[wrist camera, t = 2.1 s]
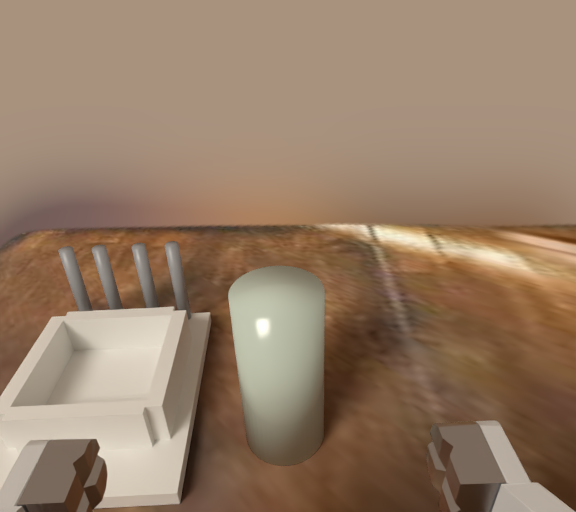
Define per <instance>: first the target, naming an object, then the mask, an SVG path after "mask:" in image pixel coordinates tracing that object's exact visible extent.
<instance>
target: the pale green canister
mask: <svg viewBox="0 0 576 512" xmlns="http://www.w3.org/2000/svg"><path fill="white" fill-rule="evenodd" d="M228 298H229V306H230V314H231V322H232V329H233V337H234V345H235V353H236V361H237V368H238V376H239V384H240V392H241V399H242V407H243V415H244V423H245V430H246V438H247V442H248V445H249V447H250V449H251V450H252V452H253V453H254V454H255V455H256V456H257V457H258V458H260V459H261V460H263V461H265V462H267V463H269V464H273V465H278V466H289V465H295V464H298V463H301V462H303V461H305V460H307V459H308V458H310V457H311V456H312V455H313V454H315V452H316V451H317V450H318V449H319V447H320V445H321V443H322V440H323V436H324V308H325V292H324V286H323V284H322V282H321V281H320V280H319V279H318V278H317V277H316V276H315V275H313V274H312V273H310V272H308V271H306V270H303V269H300V268H296V267H290V266H270V267H264V268H259V269H256V270H253V271H251V272H248V273H246V274H244V275H243V276H241V277H240V278H238V279H237V280H236V281H235V282H234V283H233V285H232V286H231V288H230V290H229V294H228Z"/></svg>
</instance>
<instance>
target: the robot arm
mask: <svg viewBox="0 0 576 512" xmlns="http://www.w3.org/2000/svg"><path fill="white" fill-rule="evenodd" d="M430 434H431V437H432V440H433V441H432V442H431V443H430V444H429V445H428V447H427V454H426V457H427V468H428V473H429V477H430V480H431V483H432V486H433V487H434V488H435V489H436V490H437V491H439V492H440V497H439V502H438V505H439V508H440V511H441V512H575V511H574V510H573V509H571V508H570V507H569V506H567V505H566V504H565V503H564V502H562V501H561V500H560V499H558V498H557V497H556V496H555V495H553V494H552V493H551V492H549V491H548V490H547V489H546V488H544V487H543V486H542V485H541V484H539V483H538V482H531V481H530V479H529V477H528V475H527V473H526V471H525V470H524V468H523V466H522V464H521V462H520V460H519V458H518V456H517V455H516V453H515V451H514V449H513V447H512V445H511V443H510V441H509V440H508V438H507V436H506V434H505V432H504V430H503V428H502V426H501V425H500V423H498V422H497V421H496V420H491V421H475V422H474V421H462V422H445V423H434V424H433V425H432V427H431V432H430ZM99 449H100V446H99V444H98V442H97V439H56V440H30V441H29V442H28V443H27V444H26V445H25V446H24V447H23V449H22V451H21V453H20V455H19V457H18V458H17V460H16V462H15V464H14V466H13V468H12V469H11V471H10V473H9V475H8V477H7V479H6V481H5V482H4V484H3V486H2V488H1V490H0V512H93V511H92V510H93V509H94V508H95V507H96V506H97V505H98V504H99V503H100V502H101V501H102V499H103V496H104V493H105V490H106V483H107V466H106V463H105V460H104V459H103V458H101V457H100V456H98V452H99Z"/></svg>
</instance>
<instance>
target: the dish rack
mask: <svg viewBox="0 0 576 512" xmlns="http://www.w3.org/2000/svg"><path fill="white" fill-rule="evenodd" d="M165 250H166V255H167V260H168V264H169V269H170V274H171V279H172V284H173V289H174V294H175V299H176V304H177V309H178V311H175V308H174V307H159V303H158V299H157V295H156V290H155V286H154V282H153V277H152V273H151V268H150V264H149V260H148V255H147V251H146V246H145V244H144V243H137V244H134V245H133V246H132V251H133V255H134V259H135V263H136V267H137V271H138V276H139V280H140V284H141V288H142V292H143V296H144V300H145V304H146V308H139V309H123V307H122V303H121V300H120V296H119V293H118V289H117V285H116V282H115V278H114V275H113V271H112V268H111V264H110V260H109V257H108V253H107V250H106V246H105V245H97V246H95V247H93V248H92V252H93V255H94V259H95V262H96V265H97V269H98V272H99V275H100V279H101V282H102V285H103V289H104V292H105V296H106V299H107V302H108V306H109V309H110V310H99V311H93V309H92V306H91V303H90V300H89V297H88V294H87V291H86V288H85V285H84V282H83V278H82V275H81V272H80V269H79V266H78V263H77V260H76V257H75V254H74V251H73V248H72V247H70V246H67V247H63V248H61V249H60V250H59V254H60V257H61V260H62V263H63V266H64V269H65V272H66V275H67V278H68V281H69V283H70V286H71V289H72V292H73V295H74V298H75V301H76V304H77V307H78V310H79V311H78V312H68V313H67V315H66V316H59V317H52V318H51V319H50V321H49V323H48V324H47V326H46V327H45V329H44V330H43V332H42V333H41V335H40V336H39V338H38V339H37V341H36V342H35V344H34V346H33V347H32V349H31V350H30V352H29V353H28V355H27V356H26V358H25V359H24V361H23V362H22V364H21V366H20V367H19V369H18V370H17V372H16V373H15V375H14V376H13V378H12V379H11V381H10V382H9V384H8V386H7V387H6V389H5V390H4V392H3V393H2V395H1V396H0V490H1V488H2V486H3V484H4V482H5V481H6V479H7V477H8V475H9V473H10V471H11V469H12V468H13V466H14V464H15V462H16V460H17V458H18V457H19V455H20V453H21V451H22V449H23V447H24V446H25V445H26V444H27V443H28V442H29V441H30V440H56V439H97V442H98V444H99V446H100V449H99V452H98V456H100V457H101V458H103V459H104V460H105V463H106V466H107V483H106V490H105V493H104V496H103V499H102V501H101V502H100V503H99V504H98V505H97V506H96V507H95V508H112V507H130V506H148V505H167V504H180V501H181V495H182V489H183V484H184V478H185V472H186V466H187V460H188V455H189V449H190V443H191V437H192V431H193V426H194V420H195V414H196V408H197V402H198V397H199V391H200V385H201V379H202V373H203V368H204V362H205V356H206V350H207V344H208V339H209V333H210V327H211V315H210V312H205V313H191V311H190V305H189V300H188V295H187V289H186V284H185V278H184V273H183V267H182V262H181V257H180V251H179V246H178V242H175V241H171V242H168V243H166V244H165Z"/></svg>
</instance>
